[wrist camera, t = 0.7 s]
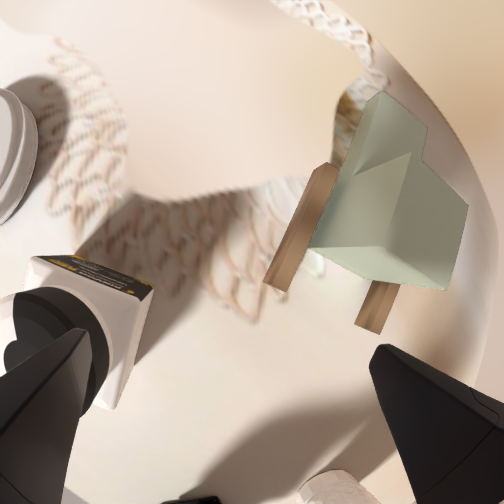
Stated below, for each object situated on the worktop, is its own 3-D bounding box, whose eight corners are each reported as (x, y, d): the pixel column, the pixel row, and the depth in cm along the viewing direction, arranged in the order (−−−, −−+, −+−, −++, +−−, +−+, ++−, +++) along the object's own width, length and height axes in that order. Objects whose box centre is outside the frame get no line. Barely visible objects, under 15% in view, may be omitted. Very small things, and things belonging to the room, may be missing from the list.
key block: (362, 278, 25) (446, 290, 15) (306, 248, 24) (381, 246, 14) (409, 136, 26) (478, 104, 17) (365, 102, 25) (429, 55, 15)
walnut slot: (363, 328, 25) (379, 334, 22) (262, 281, 23) (271, 285, 20) (402, 228, 26) (419, 227, 23) (313, 170, 24) (326, 161, 21)
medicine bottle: (156, 285, 21) (120, 322, 9) (132, 370, 21) (95, 464, 9) (72, 253, 20) (-23, 255, 8) (53, 337, 19) (-30, 397, 8)
